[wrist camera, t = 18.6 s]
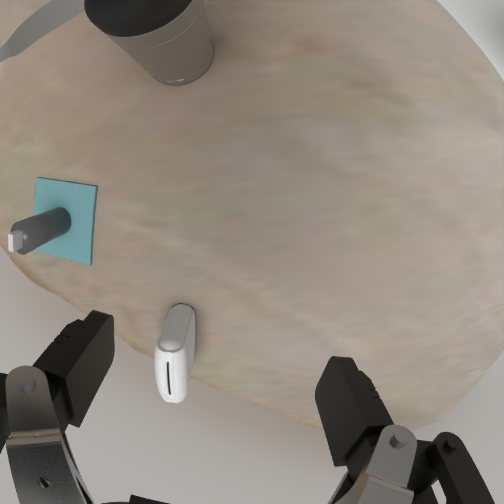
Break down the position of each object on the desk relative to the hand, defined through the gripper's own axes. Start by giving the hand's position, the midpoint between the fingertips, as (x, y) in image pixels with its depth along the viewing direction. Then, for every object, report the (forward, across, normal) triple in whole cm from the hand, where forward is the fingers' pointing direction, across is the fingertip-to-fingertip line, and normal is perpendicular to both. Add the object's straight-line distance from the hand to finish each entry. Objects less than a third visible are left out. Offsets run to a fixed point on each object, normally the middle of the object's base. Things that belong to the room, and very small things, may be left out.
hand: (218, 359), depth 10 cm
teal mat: (+30, +26, +6) cm, 40 cm away
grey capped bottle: (+29, +26, +6) cm, 40 cm away
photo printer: (+30, +4, +20) cm, 37 cm away
